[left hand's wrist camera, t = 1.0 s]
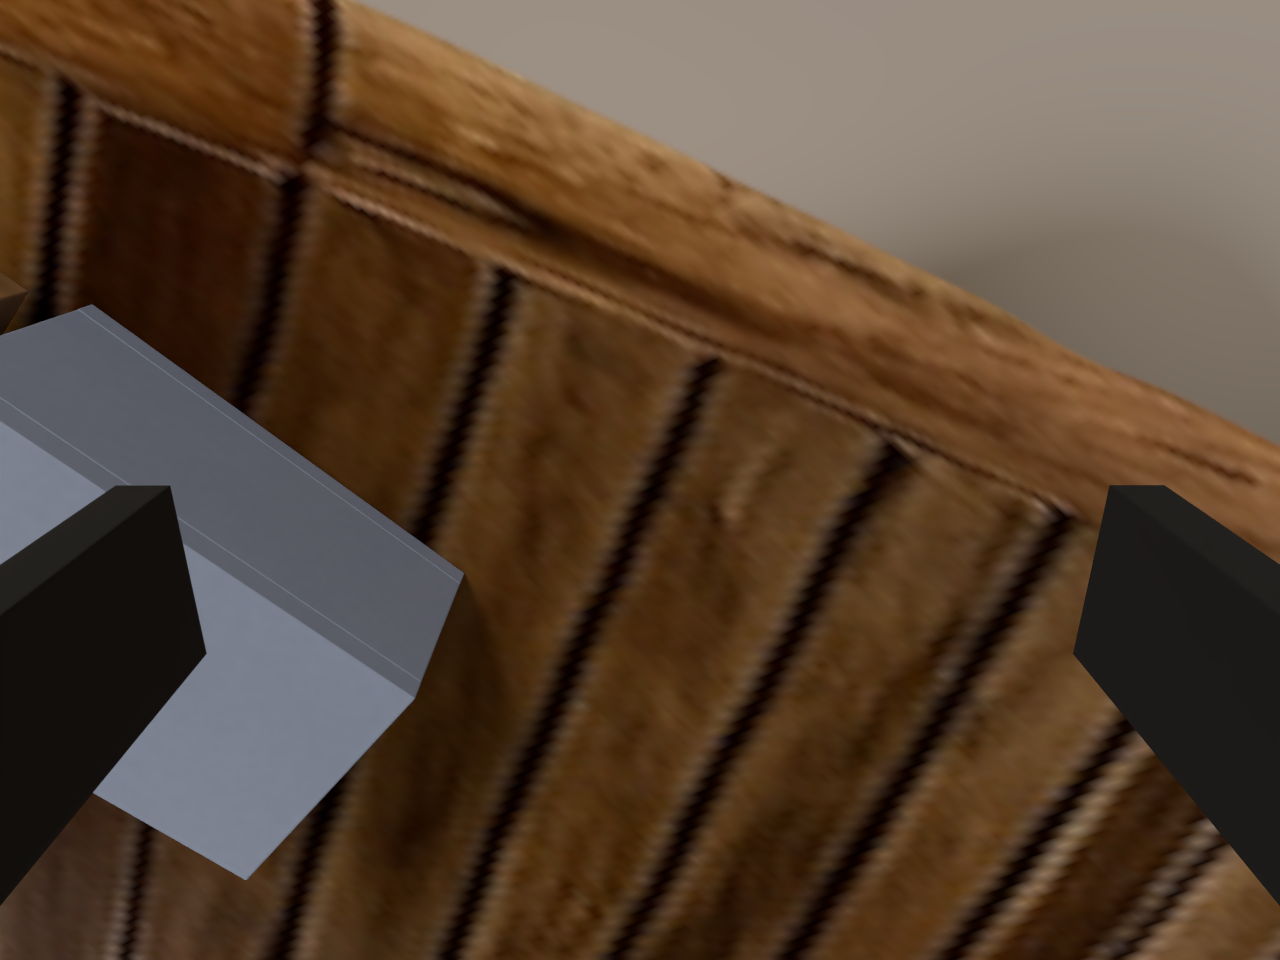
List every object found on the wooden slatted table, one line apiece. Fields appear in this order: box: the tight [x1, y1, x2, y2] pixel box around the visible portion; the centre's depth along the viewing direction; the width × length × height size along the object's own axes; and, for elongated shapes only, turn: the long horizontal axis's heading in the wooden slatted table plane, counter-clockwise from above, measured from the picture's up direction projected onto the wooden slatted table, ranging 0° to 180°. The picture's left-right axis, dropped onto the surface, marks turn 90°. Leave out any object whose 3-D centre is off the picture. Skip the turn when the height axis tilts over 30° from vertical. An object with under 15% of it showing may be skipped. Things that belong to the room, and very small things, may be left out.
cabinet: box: [0, 305, 464, 880], centre depth 34 cm, size 18×11×9 cm, turn 49°
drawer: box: [0, 272, 28, 336], centre depth 33 cm, size 22×10×7 cm, turn 49°
